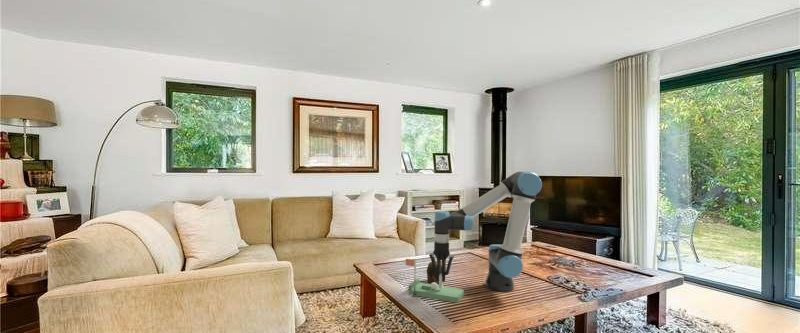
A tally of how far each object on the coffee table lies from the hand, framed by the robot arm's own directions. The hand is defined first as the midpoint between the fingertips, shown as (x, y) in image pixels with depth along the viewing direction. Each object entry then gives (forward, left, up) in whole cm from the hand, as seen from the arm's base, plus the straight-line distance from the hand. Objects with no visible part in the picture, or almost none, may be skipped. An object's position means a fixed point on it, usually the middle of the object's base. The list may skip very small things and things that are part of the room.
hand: (441, 287), depth 170 cm
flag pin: (+14, +7, -4) cm, 16 cm away
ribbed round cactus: (+9, -18, -4) cm, 21 cm away
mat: (+3, 0, -4) cm, 5 cm away
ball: (+4, 0, 0) cm, 4 cm away
